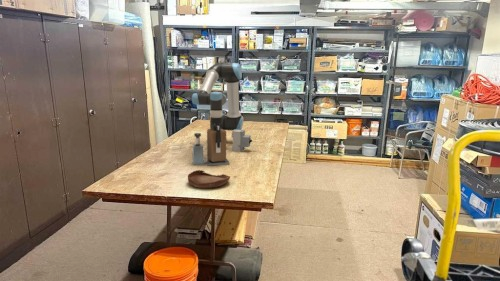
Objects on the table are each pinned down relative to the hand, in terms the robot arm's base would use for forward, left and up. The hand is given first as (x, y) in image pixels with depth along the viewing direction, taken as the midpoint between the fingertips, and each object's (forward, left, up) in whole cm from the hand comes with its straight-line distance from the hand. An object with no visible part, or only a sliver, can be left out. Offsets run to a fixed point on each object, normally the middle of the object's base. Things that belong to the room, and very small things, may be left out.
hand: (216, 150), depth 218 cm
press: (0, -4, -8) cm, 9 cm away
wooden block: (0, 0, -7) cm, 7 cm away
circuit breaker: (-26, +24, -8) cm, 36 cm away
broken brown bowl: (+38, -11, -9) cm, 40 cm away
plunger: (0, -12, +2) cm, 12 cm away
